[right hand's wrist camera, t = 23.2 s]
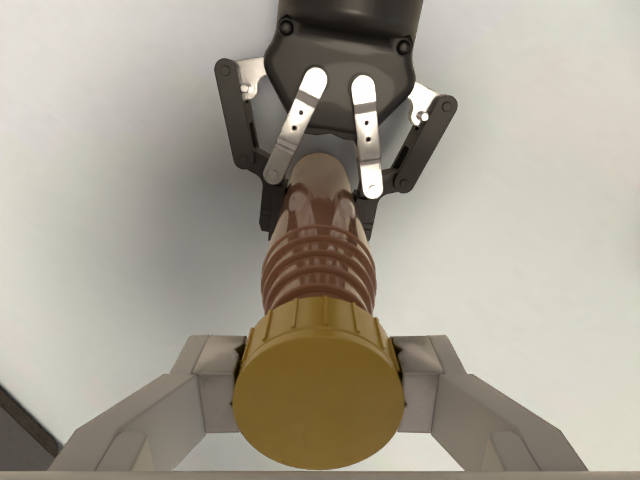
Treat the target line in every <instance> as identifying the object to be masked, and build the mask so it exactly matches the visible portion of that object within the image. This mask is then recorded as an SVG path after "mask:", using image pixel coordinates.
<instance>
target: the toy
mask: <svg viewBox="0 0 640 480" xmlns="http://www.w3.org/2000/svg"><path fill="white" fill-rule="evenodd" d="M57 456H58V446H57V444H56V442H55V441H54V440H53V439H52V438H51V437H50V436H49V435H48V434H47V433H46V432H45V431H44V430H43V429H42V428H41V427H40V426H39V425H38V424H37V423H35V422H34V421H33V420H32V419H31V418H30V417H29V416H28V415H27V414H26V413H25V412H24V411H23V410H22V409H21V408H20V407H19V406H18V405H17V404H16V403H15V402H14V401H13V400H12V399H11V398H10V397H9V396H8V395H6V394H5V393H4V392H3V391H2V390H1V389H0V471H47V469H48V468H49V467H50V465H51V464H52V462H53V461H54V460H55V458H56V457H57Z"/></svg>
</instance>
